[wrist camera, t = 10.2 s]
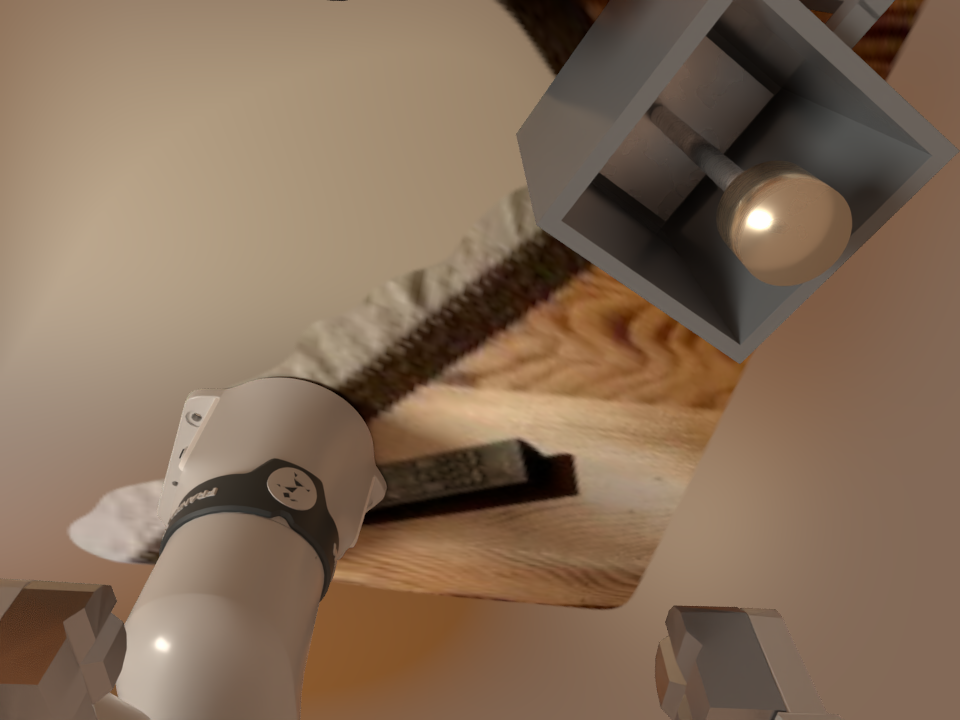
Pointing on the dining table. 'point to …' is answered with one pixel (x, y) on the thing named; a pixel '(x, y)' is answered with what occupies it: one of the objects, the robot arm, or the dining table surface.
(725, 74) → the plunger
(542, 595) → the dining table surface
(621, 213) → the box
